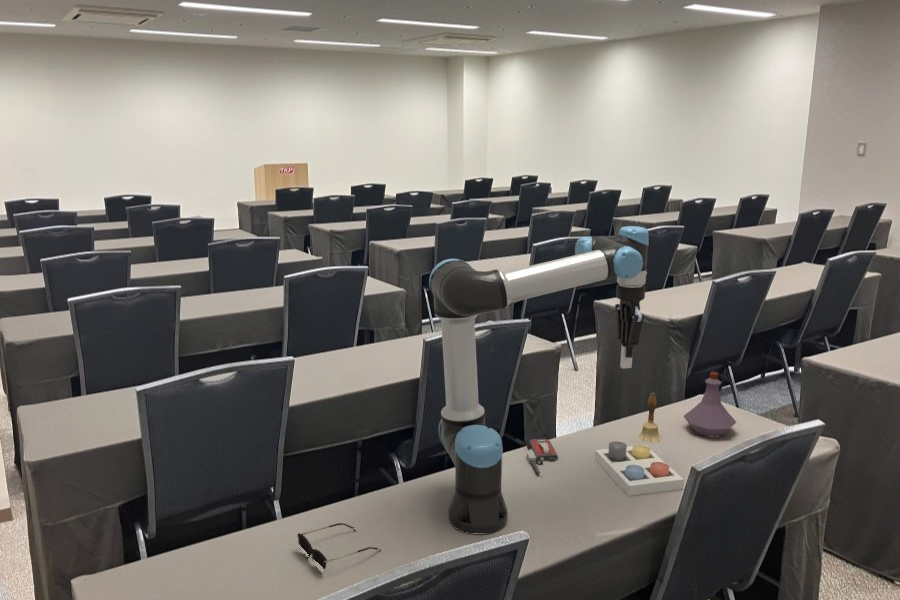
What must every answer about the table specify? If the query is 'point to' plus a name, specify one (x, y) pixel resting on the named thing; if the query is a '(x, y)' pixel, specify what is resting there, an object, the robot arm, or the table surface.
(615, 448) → the button charcoal
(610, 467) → the console
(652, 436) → the hand bell
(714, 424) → the flask
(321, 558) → the sunglasses
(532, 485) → the table surface
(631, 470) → the button slate
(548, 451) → the walkie-talkie
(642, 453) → the button mustard
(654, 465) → the button brick
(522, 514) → the table surface
